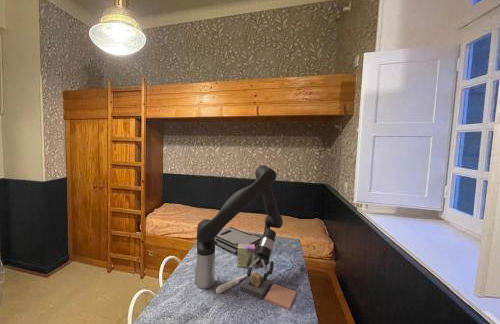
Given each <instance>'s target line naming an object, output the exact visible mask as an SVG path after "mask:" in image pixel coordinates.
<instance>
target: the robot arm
mask: <svg viewBox="0 0 500 324" xmlns="http://www.w3.org/2000/svg"><path fill="white" fill-rule="evenodd" d="M254 176H255V178H256V180H255V181H254V182H253V183H251V184H250V185H248V186H246V187H244V188H241V189H239V190H237V191H235V192H234V193H232V195H231V196H230V197H229V198H228V199H227V200H226V201H225V203H223V205H222V207H221V208H220V210H219V211H218V212H217V214H215V216H214V217H212V218H211V219H207V218H205V219H202V220H201V221H200V222H199V223H198V224H197V227H196V264H195V265H194V266H195V267H194V284H196V286H197V287H198V289H199V288H200V289H204V290H206V289H209V288H211V287H213V285H215V273H216V270H215V267H216V265H215V264H216V243H215V237H216V236H217V234H220V232H221V231H222V230H223V229H224V228H225V227H226V226H227V224H229V223H230V222H231V221H232V220H234V218H235V217H236V216H237V215H239V214H240V213H241V212H242V211H243V210H244V208H246V207H247V206H248V205H249V204H250V203H251V202H252V201H253V200H255V199H256V197H258V196H259V195H260V194H261V196H262V199H263V204H264V210H265V213H266V217H265V218H264V230H263V234H262V236H261V237H262V239H261V241H260V244H259V247H258V248H257V249H256V250H257V251H256V252H255V257H254V256H252V255H250V256H249V259H248V261H247V264H246V265H247V266H248V267H247V268H248V269H247V271H246V274H247V276H248V277H250V274H252V271H253V269H254V268H256V267H259V268H262V269H263V270H264V272H263V276H262V277H263V280H262V281H263V282H265V281H266V280H267V279H268V276H269V275H273V273H274V271H273V270H274V266H275V262H274V261H273V260H270V258H271V254H272V251H273V249H274V243H275V240H276V236H277V232H275V230H273V229H274V228H275V229H280V228H282V226H283V225H284V221H283V217H282V215H281V214H280V211H279V210H278V205H277V203H278V202H277V200H276V197H275V194H274V192H273V190H272V187H271V186H272V185H273V183H275V181H276V179H277V172H276V171H275V170H274V169H272V168H270V167H269V166H267V165H264V164H262V165H259V166H257V168H256V169H255V172H254ZM271 228H273V229H271ZM253 259H254V262H253V263H252V264H251V262H252V260H253ZM250 264H251V265H250ZM268 265H269V269H268Z"/></svg>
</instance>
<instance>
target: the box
mask: <svg viewBox="0 0 500 324" xmlns="http://www.w3.org/2000/svg"><path fill="white" fill-rule="evenodd" d="M250 255H252V256H254V257H255V256H256V250H255V245H254V244H238V256H237V259H236V260H237V261H236V266H237V268H249V267H248V266H247V265H246V264H247V261H248V259H249V256H250ZM254 261H255V260H254V259H253V260H252V262H251V264H252V263H253V262H254ZM251 264H250V265H251Z"/></svg>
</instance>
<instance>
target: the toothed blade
mask: <svg viewBox="0 0 500 324" xmlns="http://www.w3.org/2000/svg"><path fill="white" fill-rule="evenodd" d="M247 277H248V276H247V273H246V274H244V275H242V276H240V277H239V276H235V277H234V278H233V279H231V280H229V281H227V282H224V283H222V284H220V285H218V286H216V289H215V292H216V294H221V293H223V292H224V293H225V291H228V290H229V289H230V288H233V286H237V285H239V284H240V281H242V280H245V279H246V278H247Z"/></svg>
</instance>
